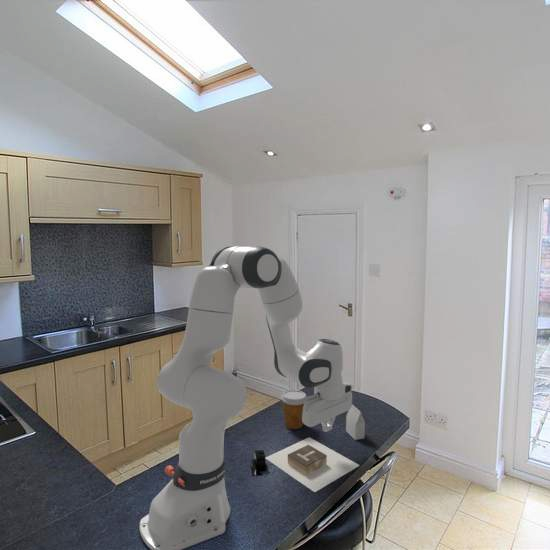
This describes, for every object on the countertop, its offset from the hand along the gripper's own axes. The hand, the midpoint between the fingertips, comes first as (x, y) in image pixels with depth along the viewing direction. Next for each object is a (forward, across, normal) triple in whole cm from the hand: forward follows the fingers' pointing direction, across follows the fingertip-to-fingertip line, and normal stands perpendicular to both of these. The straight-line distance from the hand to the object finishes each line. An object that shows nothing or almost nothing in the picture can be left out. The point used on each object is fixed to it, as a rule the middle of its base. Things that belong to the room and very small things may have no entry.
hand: (327, 430), depth 131 cm
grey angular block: (+9, +17, +2) cm, 19 cm away
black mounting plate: (+9, -21, +9) cm, 24 cm away
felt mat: (+8, -7, 0) cm, 11 cm away
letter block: (+6, -5, 0) cm, 8 cm away
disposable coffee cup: (+8, +5, +21) cm, 23 cm away
